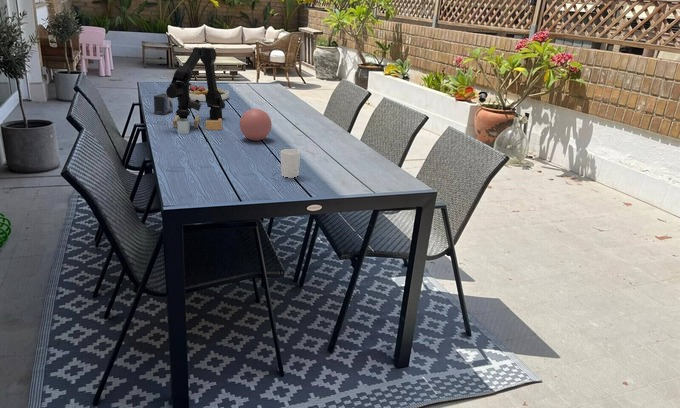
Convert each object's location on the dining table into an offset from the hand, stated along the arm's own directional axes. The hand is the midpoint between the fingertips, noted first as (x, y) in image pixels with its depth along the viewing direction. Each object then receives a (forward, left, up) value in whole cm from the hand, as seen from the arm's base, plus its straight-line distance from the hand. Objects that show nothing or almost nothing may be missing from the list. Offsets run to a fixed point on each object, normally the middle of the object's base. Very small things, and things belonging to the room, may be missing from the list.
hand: (184, 125), depth 278 cm
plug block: (0, +7, -2) cm, 7 cm away
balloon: (-35, +19, -2) cm, 40 cm away
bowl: (-6, -89, -2) cm, 89 cm away
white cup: (-47, +78, -2) cm, 91 cm away
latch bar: (-15, 0, -2) cm, 15 cm away
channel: (0, -10, -2) cm, 10 cm away
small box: (+15, -39, -2) cm, 42 cm away
